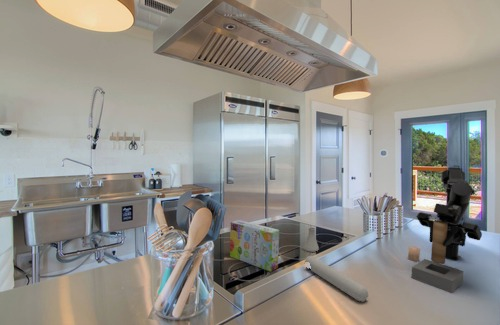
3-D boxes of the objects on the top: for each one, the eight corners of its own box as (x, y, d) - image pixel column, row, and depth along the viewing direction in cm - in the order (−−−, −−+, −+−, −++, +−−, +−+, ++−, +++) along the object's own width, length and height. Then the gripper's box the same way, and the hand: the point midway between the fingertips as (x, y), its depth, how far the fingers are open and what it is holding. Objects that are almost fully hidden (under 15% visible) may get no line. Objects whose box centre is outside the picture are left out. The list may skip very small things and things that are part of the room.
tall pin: (433, 257, 95) (435, 220, 94) (446, 261, 91) (449, 223, 91) (429, 260, 92) (431, 222, 91) (442, 264, 89) (445, 225, 88)
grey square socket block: (424, 268, 101) (424, 258, 100) (462, 281, 91) (463, 271, 91) (411, 277, 93) (412, 266, 93) (451, 292, 84) (452, 281, 84)
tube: (373, 288, 79) (316, 256, 100) (363, 287, 76) (306, 254, 98) (369, 305, 78) (312, 269, 100) (358, 305, 76) (302, 268, 97)
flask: (306, 245, 123) (307, 224, 122) (321, 249, 118) (322, 227, 118) (300, 249, 117) (301, 228, 116) (315, 254, 113) (316, 231, 112)
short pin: (410, 256, 112) (410, 245, 112) (420, 260, 109) (421, 248, 108) (406, 259, 109) (407, 247, 109) (416, 262, 106) (417, 250, 106)
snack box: (278, 267, 99) (280, 229, 98) (270, 272, 95) (271, 232, 94) (237, 252, 112) (238, 218, 111) (228, 256, 108) (229, 221, 107)
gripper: (420, 191, 101) (402, 222, 96) (480, 200, 84) (461, 238, 80) (430, 209, 105) (413, 240, 100) (489, 221, 88) (472, 258, 84)
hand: (437, 243), depth 91 cm, fingers closed on tall pin, 4 cm apart
